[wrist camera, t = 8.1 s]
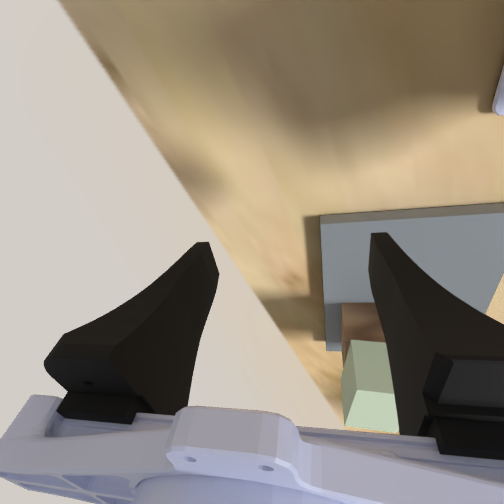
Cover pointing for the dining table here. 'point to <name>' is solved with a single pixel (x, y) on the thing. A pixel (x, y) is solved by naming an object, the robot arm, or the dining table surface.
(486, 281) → the baseplate
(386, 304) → the robot arm
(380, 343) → the green brick
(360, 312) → the walnut brick
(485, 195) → the dining table surface
